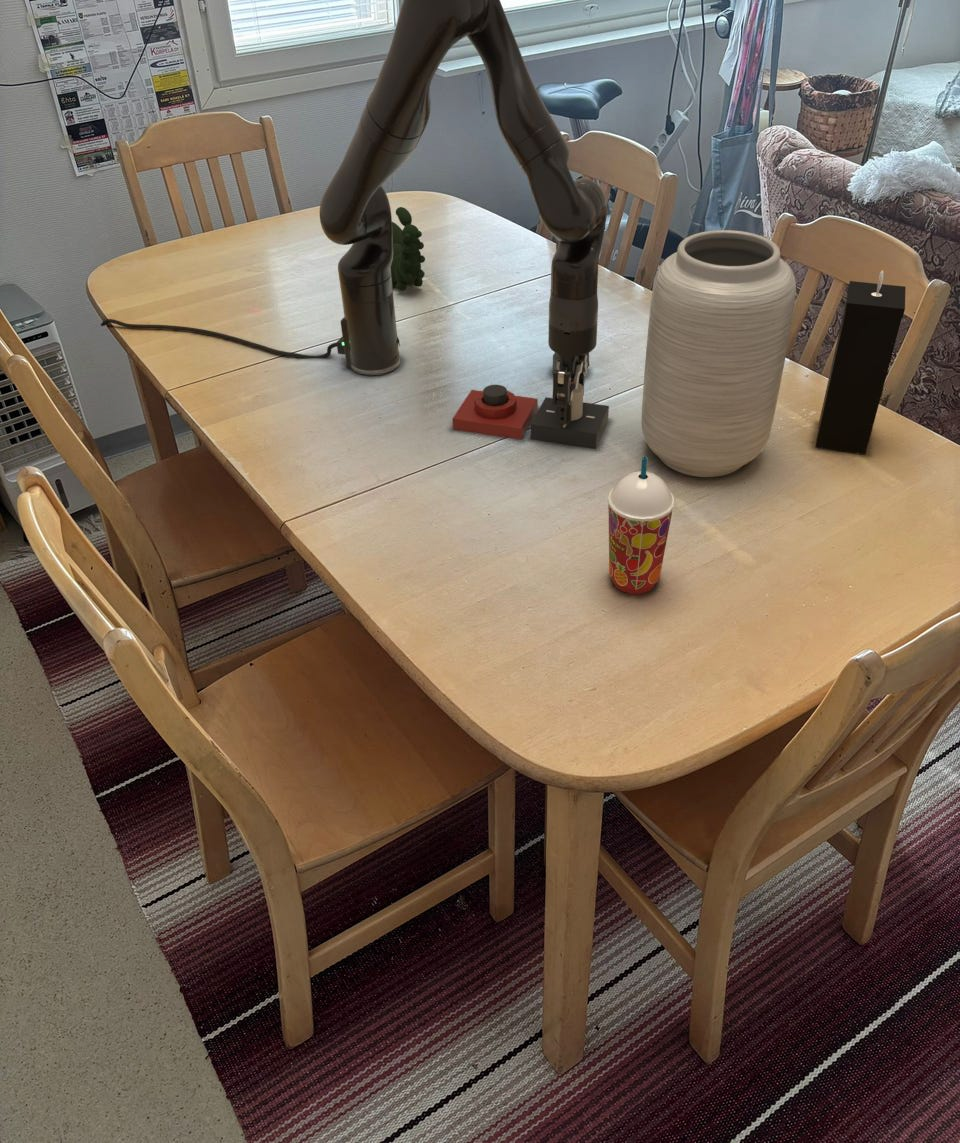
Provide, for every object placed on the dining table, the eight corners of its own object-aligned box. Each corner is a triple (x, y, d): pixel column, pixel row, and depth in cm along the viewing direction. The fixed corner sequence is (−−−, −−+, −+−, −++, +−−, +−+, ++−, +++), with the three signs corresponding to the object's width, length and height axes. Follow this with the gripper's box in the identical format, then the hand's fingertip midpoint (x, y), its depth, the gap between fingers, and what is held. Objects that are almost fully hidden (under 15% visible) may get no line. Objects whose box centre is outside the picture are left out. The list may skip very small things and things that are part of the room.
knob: (579, 422, 157) (580, 393, 154) (555, 419, 158) (556, 390, 155) (584, 409, 160) (585, 381, 157) (561, 406, 161) (561, 378, 158)
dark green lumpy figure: (437, 300, 206) (392, 251, 221) (435, 214, 192) (386, 168, 208) (397, 310, 202) (353, 260, 218) (391, 224, 189) (345, 176, 205)
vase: (688, 503, 144) (716, 290, 123) (613, 440, 158) (626, 239, 137) (793, 465, 151) (837, 256, 129) (712, 408, 165) (739, 211, 143)
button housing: (453, 429, 163) (451, 409, 160) (472, 400, 170) (471, 380, 167) (521, 439, 159) (521, 419, 157) (537, 409, 167) (537, 389, 164)
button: (480, 405, 161) (479, 394, 160) (487, 393, 164) (487, 383, 163) (503, 408, 160) (502, 397, 159) (510, 396, 163) (510, 386, 162)
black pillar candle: (867, 430, 158) (911, 264, 140) (865, 455, 152) (911, 286, 134) (818, 423, 160) (854, 259, 142) (814, 448, 155) (851, 280, 136)
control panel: (530, 439, 159) (530, 423, 157) (545, 412, 166) (545, 396, 164) (595, 449, 157) (596, 432, 154) (608, 421, 163) (609, 404, 161)
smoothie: (598, 564, 134) (605, 442, 121) (657, 559, 135) (670, 437, 122) (609, 604, 128) (617, 479, 115) (671, 598, 128) (686, 474, 115)
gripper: (561, 296, 154) (559, 386, 165) (536, 335, 144) (536, 429, 155) (607, 301, 152) (602, 392, 163) (585, 341, 142) (582, 435, 153)
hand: (570, 409), depth 159 cm, fingers open, 8 cm apart
